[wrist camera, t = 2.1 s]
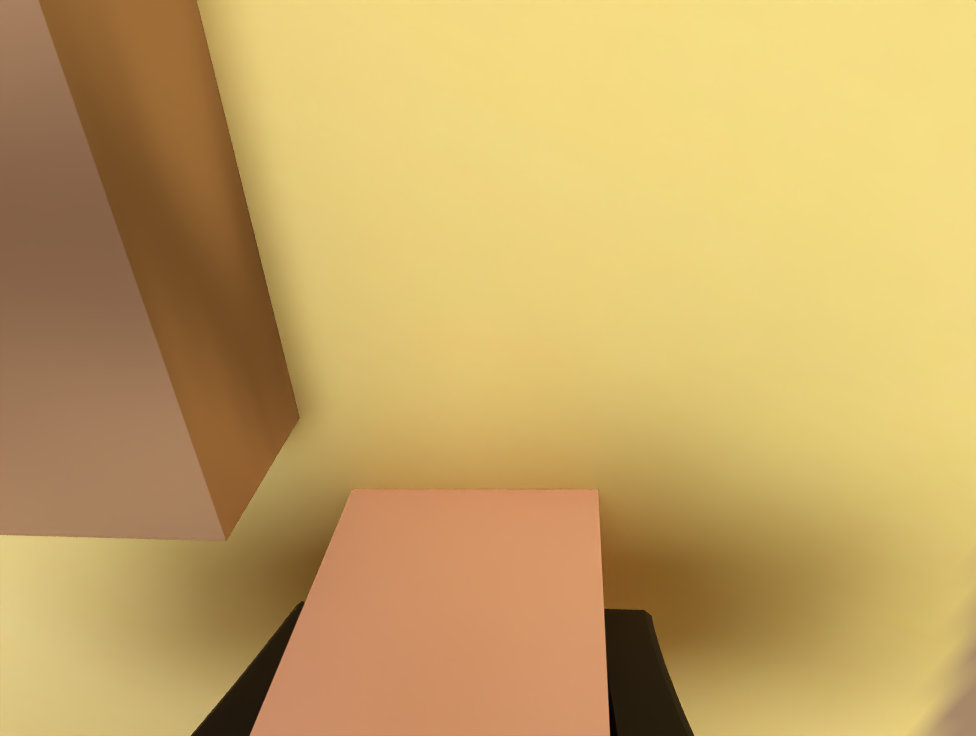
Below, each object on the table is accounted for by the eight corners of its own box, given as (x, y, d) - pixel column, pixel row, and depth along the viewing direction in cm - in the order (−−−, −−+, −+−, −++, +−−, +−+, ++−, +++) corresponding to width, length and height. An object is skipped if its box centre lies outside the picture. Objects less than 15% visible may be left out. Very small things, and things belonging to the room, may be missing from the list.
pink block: (600, 654, 13) (614, 1001, 9) (391, 648, 13) (306, 970, 9) (598, 487, 11) (614, 831, 7) (352, 487, 11) (220, 804, 7)
